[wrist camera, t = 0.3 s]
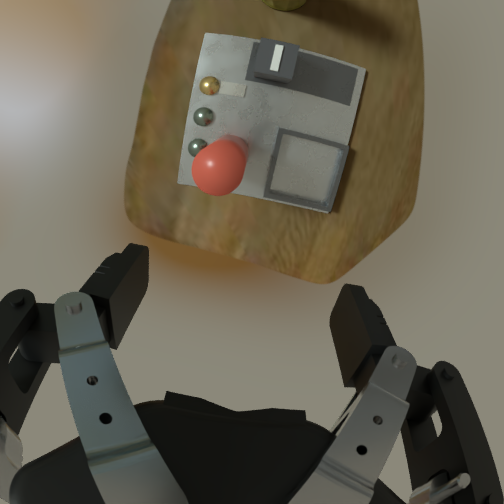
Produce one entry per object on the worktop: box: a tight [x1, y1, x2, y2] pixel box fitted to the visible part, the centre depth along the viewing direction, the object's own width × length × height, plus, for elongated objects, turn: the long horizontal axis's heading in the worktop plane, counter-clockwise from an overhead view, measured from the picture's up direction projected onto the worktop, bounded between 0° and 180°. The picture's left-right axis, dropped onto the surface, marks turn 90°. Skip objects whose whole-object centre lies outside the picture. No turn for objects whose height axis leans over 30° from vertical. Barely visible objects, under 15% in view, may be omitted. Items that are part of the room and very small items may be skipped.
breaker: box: [253, 38, 300, 84], centre depth 27 cm, size 4×4×5 cm
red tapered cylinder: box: [191, 135, 249, 196], centre depth 30 cm, size 5×5×11 cm
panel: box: [177, 33, 366, 213], centre depth 32 cm, size 20×20×2 cm
